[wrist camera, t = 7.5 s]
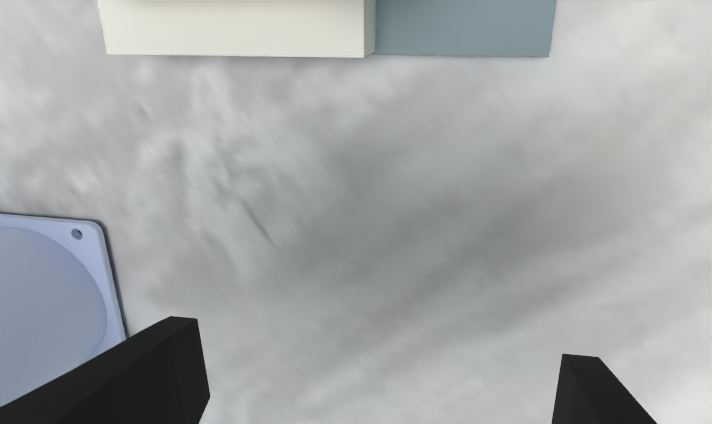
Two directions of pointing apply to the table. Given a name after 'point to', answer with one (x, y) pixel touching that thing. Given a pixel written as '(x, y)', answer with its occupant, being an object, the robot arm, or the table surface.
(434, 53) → the stand
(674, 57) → the table surface
